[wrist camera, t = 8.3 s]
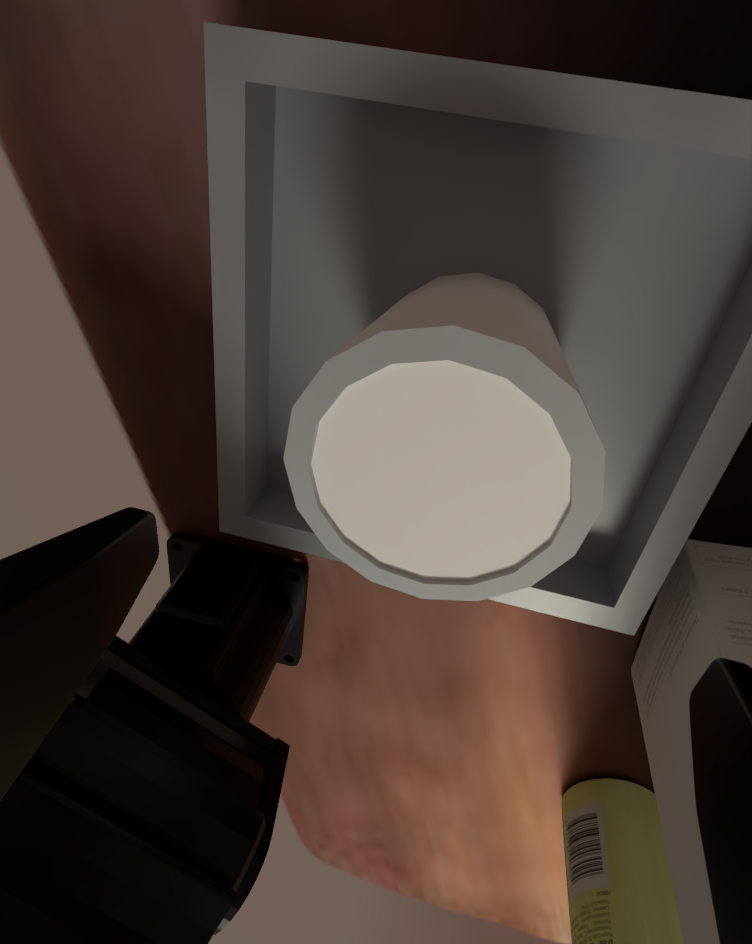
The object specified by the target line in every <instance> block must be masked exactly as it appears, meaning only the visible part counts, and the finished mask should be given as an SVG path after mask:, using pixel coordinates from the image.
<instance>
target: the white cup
mask: <svg viewBox="0 0 752 944" xmlns="http://www.w3.org/2000/svg"><path fill="white" fill-rule="evenodd" d="M605 452H606V451H605V449H604V446H603V444H602V442H601V439H600V437H599V435H598V432H597V430H596V428H595V425H594V423H593V421H592V419H591V416H590V414H589V412H588V409H587V407H586V405H585V402H584V400H583V398H582V395H581V393H580V391H579V389H578V386H577V384H576V382H575V379H574V377H573V375H572V372H571V370H570V368H569V365H568V363H567V361H566V358H565V356H564V354H563V352H562V349H561V347H560V345H559V342H558V340H557V338H556V336H555V334H554V331H553V329H552V327H551V325H550V323H549V321H548V318H547V316H546V314H545V312H544V310H543V308H542V307H541V306H540V305H538V304H537V303H536V302H535V301H534V300H533V299H531V298H530V297H529V296H528V295H527V294H526V293H524V292H523V291H522V290H521V289H520V288H519V287H517V286H516V285H515V284H513V283H510V282H507V281H504V280H500V279H497V278H494V277H490V276H487V275H484V274H481V273H468V274H459V275H449V276H440V277H438V278H436V279H434V280H432V281H430V282H429V283H427V284H425V285H423V286H421V287H420V288H418V289H416V290H414V291H412V292H411V293H409V294H407V295H406V296H405V297H403V298H402V299H401V300H400V301H398V302H397V303H396V304H395V305H394V306H392V307H391V308H390V309H389V310H388V311H386V312H385V313H384V314H383V315H381V316H380V317H379V318H378V319H377V320H375V321H374V322H373V323H372V324H371V325H369V326H368V327H367V328H366V329H365V330H363V331H362V332H361V333H360V334H358V335H357V336H356V337H355V338H354V339H352V340H351V341H350V342H349V343H348V344H346V345H345V346H344V347H343V348H342V349H340V350H339V351H338V352H337V353H335V354H334V355H333V356H332V357H331V358H329V359H328V360H327V361H326V362H325V363H324V365H323V366H322V367H321V369H320V370H319V371H318V373H317V374H316V376H315V377H314V378H313V380H312V381H311V382H310V384H309V385H308V386H307V388H306V389H305V391H304V392H303V393H302V395H301V396H300V397H299V399H298V400H297V401H296V403H295V404H294V406H293V407H292V411H291V417H290V423H289V429H288V434H287V440H286V446H285V452H284V458H283V460H284V463H285V467H286V471H287V475H288V478H289V482H290V486H291V490H292V493H293V497H294V501H295V505H296V508H297V510H298V511H299V512H300V514H301V515H302V517H303V518H304V519H305V521H306V522H307V523H308V525H309V526H310V527H311V529H312V530H313V532H314V533H315V534H316V536H317V537H318V538H319V540H320V541H321V542H322V544H323V545H324V547H325V548H326V549H327V550H328V551H329V552H330V553H332V554H333V555H335V556H336V557H337V558H339V559H340V560H342V561H343V562H344V563H346V564H347V565H349V566H350V567H351V568H353V569H354V570H356V571H357V572H358V573H360V574H361V575H363V576H364V577H365V578H367V579H368V580H370V581H371V582H374V583H377V584H380V585H383V586H386V587H389V588H392V589H395V590H398V591H401V592H404V593H407V594H410V595H413V596H416V597H418V598H421V599H438V600H461V601H480V600H484V599H487V598H491V597H495V596H499V595H502V594H506V593H510V592H513V591H517V590H521V589H524V588H528V587H531V586H533V585H534V584H535V583H537V582H538V581H540V580H541V579H542V578H544V577H545V576H547V575H548V574H549V573H551V572H552V571H554V570H555V569H556V568H558V567H559V566H561V565H562V564H563V563H565V562H566V561H568V560H569V559H571V558H572V557H573V556H575V554H576V553H577V551H578V549H579V548H580V546H581V544H582V543H583V541H584V539H585V537H586V536H587V534H588V532H589V531H590V529H591V527H592V525H593V524H594V522H595V520H596V519H597V517H598V515H599V514H600V512H601V510H602V508H603V491H604V471H605Z"/></svg>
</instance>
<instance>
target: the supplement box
mask: <svg viewBox="0 0 752 944" xmlns="http://www.w3.org/2000/svg"><path fill="white" fill-rule="evenodd" d="M716 658H726V659H730V660H733V661H737V662H741V663H744V664H747V665H748V666H750V667H751V668H752V548H747V547H740V546H733V545H725V544H718V543H711V542H703V541H697V540H690V539H687V540H686V542H685V544H684V546H683V548H682V549H681V551H680V553H679V555H678V557H677V559H676V560H675V562H674V564H673V566H672V568H671V569H670V571H669V573H668V575H667V577H666V579H665V580H664V582H663V584H662V586H661V589H660V591H659V594H658V596H657V599H656V602H655V605H654V607H653V610H652V612H651V615H650V618H649V620H648V623H647V626H646V629H645V631H644V633H643V636H642V639H641V642H640V645H639V647H638V649H637V652H636V655H635V658H634V661H633V664H632V667H631V675H632V680H633V685H634V689H635V694H636V699H637V704H638V709H639V715H640V720H641V725H642V731H643V736H644V741H645V746H646V752H647V755H648V760H649V766H650V771H651V776H652V782H653V787H654V792H655V797H656V802H657V807H658V812H659V817H660V823H661V828H662V834H663V839H664V844H665V850H666V855H667V860H668V866H669V871H670V876H671V881H672V886H673V891H674V896H675V901H676V906H677V911H678V916H679V921H680V926H681V931H682V936H683V941H684V944H720V942H719V937H718V931H717V925H716V920H715V914H714V908H713V903H712V897H711V891H710V886H709V880H708V874H707V869H706V863H705V858H704V852H703V846H702V841H701V835H700V829H699V824H698V817H697V810H696V802H695V792H694V777H693V761H692V746H691V730H690V714H689V699H690V695H691V692H692V690H693V688H694V687H695V685H696V684H697V682H698V681H699V679H700V678H701V676H702V675H703V674H704V672H705V671H706V669H707V668H708V666H709V665H710V663H711V662H712V661H713V660H715V659H716Z"/></svg>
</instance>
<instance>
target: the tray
mask: <svg viewBox="0 0 752 944" xmlns="http://www.w3.org/2000/svg"><path fill="white" fill-rule="evenodd" d="M204 52H205V84H206V116H207V148H208V180H209V213H210V245H211V277H212V309H213V341H214V374H215V406H216V438H217V470H218V502H219V531H220V532H224V533H228V534H232V535H236V536H240V537H244V538H248V539H252V540H256V541H260V542H264V543H268V544H272V545H276V546H279V547H283V548H287V549H291V550H295V551H299V552H303V553H307V554H311V555H315V556H319V557H323V558H327V559H331V560H335V561H339V562H343V561H342V560H340V559H339V558H337V557H336V556H335V555H333V554H332V553H330V552H329V551H328V550H327V549H326V548H325V547H324V545H323V544H322V542H321V541H320V540H319V538H318V537H317V536H316V534H315V533H314V532H313V530H312V529H311V527H310V526H309V525H308V523H307V522H306V521H305V519H304V518H303V517H302V515H301V514H300V512H299V511H298V510H297V508H296V505H295V501H294V497H293V493H292V490H291V486H290V482H289V478H288V475H287V471H286V467H285V463H284V460H283V458H284V452H285V446H286V440H287V434H288V429H289V423H290V417H291V411H292V407H293V406H294V404H295V403H296V401H297V400H298V399H299V397H300V396H301V395H302V393H303V392H304V391H305V389H306V388H307V386H308V385H309V384H310V382H311V381H312V380H313V378H314V377H315V376H316V374H317V373H318V371H319V370H320V369H321V367H322V366H323V365H324V363H325V362H326V361H327V360H328V359H329V358H331V357H332V356H333V355H334V354H335V353H337V352H338V351H339V350H340V349H342V348H343V347H344V346H345V345H346V344H348V343H349V342H350V341H351V340H352V339H354V338H355V337H356V336H357V335H358V334H360V333H361V332H362V331H363V330H365V329H366V328H367V327H368V326H369V325H371V324H372V323H373V322H374V321H375V320H377V319H378V318H379V317H380V316H381V315H383V314H384V313H385V312H386V311H388V310H389V309H390V308H391V307H392V306H394V305H395V304H396V303H397V302H398V301H400V300H401V299H402V298H403V297H405V296H406V295H407V294H409V293H411V292H412V291H414V290H416V289H418V288H420V287H421V286H423V285H425V284H427V283H429V282H430V281H432V280H434V279H436V278H438V277H440V276H449V275H459V274H468V273H481V274H484V275H487V276H490V277H494V278H497V279H500V280H504V281H507V282H510V283H513V284H515V285H516V286H517V287H519V288H520V289H521V290H522V291H523V292H524V293H526V294H527V295H528V296H529V297H530V298H531V299H533V300H534V301H535V302H536V303H537V304H538V305H540V306H541V307H542V308H543V310H544V312H545V314H546V316H547V318H548V321H549V323H550V325H551V327H552V329H553V331H554V334H555V336H556V338H557V340H558V342H559V345H560V347H561V349H562V352H563V354H564V356H565V358H566V361H567V363H568V365H569V368H570V370H571V372H572V375H573V377H574V379H575V382H576V384H577V386H578V389H579V391H580V393H581V395H582V398H583V400H584V402H585V405H586V407H587V409H588V412H589V414H590V416H591V419H592V421H593V423H594V425H595V428H596V430H597V432H598V435H599V437H600V439H601V442H602V444H603V446H604V449H605V451H606V452H605V471H604V491H603V508H602V510H601V512H600V514H599V515H598V517H597V519H596V520H595V522H594V524H593V525H592V527H591V529H590V531H589V532H588V534H587V536H586V537H585V539H584V541H583V543H582V544H581V546H580V548H579V549H578V551H577V553H576V554H575V556H573V557H572V558H571V559H569V560H568V561H566V562H565V563H563V564H562V565H561V566H559V567H558V568H556V569H555V570H554V571H552V572H551V573H549V574H548V575H547V576H545V577H544V578H542V579H541V580H540V581H538V582H537V583H535V584H534V585H533V586H531V587H528V588H524V589H521V590H517V591H513V592H510V593H506V594H502V595H499V596H495V597H491V598H487V599H490V600H494V601H498V602H502V603H506V604H510V605H513V606H517V607H521V608H525V609H529V610H533V611H537V612H541V613H545V614H549V615H553V616H557V617H561V618H565V619H569V620H573V621H577V622H581V623H585V624H589V625H593V626H597V627H601V628H605V629H609V630H613V631H617V632H621V633H625V634H628V635H632V636H634V635H635V633H636V631H637V629H638V628H639V626H640V624H641V622H642V620H643V618H644V617H645V615H646V613H647V611H648V609H649V608H650V606H651V604H652V602H653V600H654V598H655V597H656V595H657V593H658V591H659V589H660V588H661V586H662V584H663V582H664V580H665V579H666V577H667V575H668V573H669V571H670V569H671V568H672V566H673V564H674V562H675V560H676V559H677V557H678V555H679V553H680V551H681V549H682V548H683V546H684V544H685V542H686V540H687V539H688V537H689V535H690V533H691V531H692V530H693V528H694V526H695V524H696V522H697V520H698V519H699V517H700V515H701V513H702V511H703V510H704V508H705V506H706V504H707V502H708V500H709V499H710V497H711V495H712V493H713V491H714V490H715V488H716V486H717V484H718V482H719V480H720V479H721V477H722V475H723V473H724V471H725V470H726V468H727V466H728V464H729V462H730V461H731V459H732V457H733V455H734V453H735V451H736V450H737V448H738V446H739V444H740V442H741V441H742V439H743V437H744V435H745V433H746V431H747V430H748V428H749V426H750V424H751V422H752V100H748V99H741V98H734V97H727V96H720V95H713V94H706V93H699V92H692V91H685V90H678V89H671V88H664V87H657V86H650V85H643V84H636V83H629V82H622V81H615V80H608V79H601V78H594V77H587V76H580V75H573V74H566V73H559V72H552V71H545V70H538V69H531V68H524V67H517V66H510V65H503V64H496V63H489V62H482V61H475V60H468V59H461V58H453V57H446V56H439V55H432V54H425V53H418V52H411V51H404V50H397V49H390V48H383V47H376V46H369V45H362V44H355V43H348V42H341V41H334V40H327V39H320V38H313V37H306V36H299V35H292V34H285V33H278V32H271V31H264V30H257V29H250V28H243V27H236V26H229V25H222V24H215V23H208V22H204ZM343 563H344V562H343Z"/></svg>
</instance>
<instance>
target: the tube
mask: <svg viewBox="0 0 752 944" xmlns="http://www.w3.org/2000/svg"><path fill="white" fill-rule="evenodd" d="M562 821H563V837H564V850H565V863H566V876H567V889H568V902H569V914H570V926H571V937H572V944H684V941H683V936H682V931H681V926H680V921H679V916H678V911H677V906H676V901H675V896H674V891H673V886H672V881H671V876H670V871H669V866H668V860H667V855H666V850H665V844H664V839H663V834H662V828H661V823H660V817H659V812H658V807H657V802H656V797H655V794H654V793H653V792H651V791H650V790H648V789H647V788H645V787H642V786H640V785H638V784H635V783H633V782H629V781H625V780H619V779H609V778H605V779H592V780H587V781H584V782H580V783H578V784H576V785H574V786H572V787H571V788H569V789H568V790H567V791H566V792H565V794H564V795H563V798H562Z"/></svg>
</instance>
